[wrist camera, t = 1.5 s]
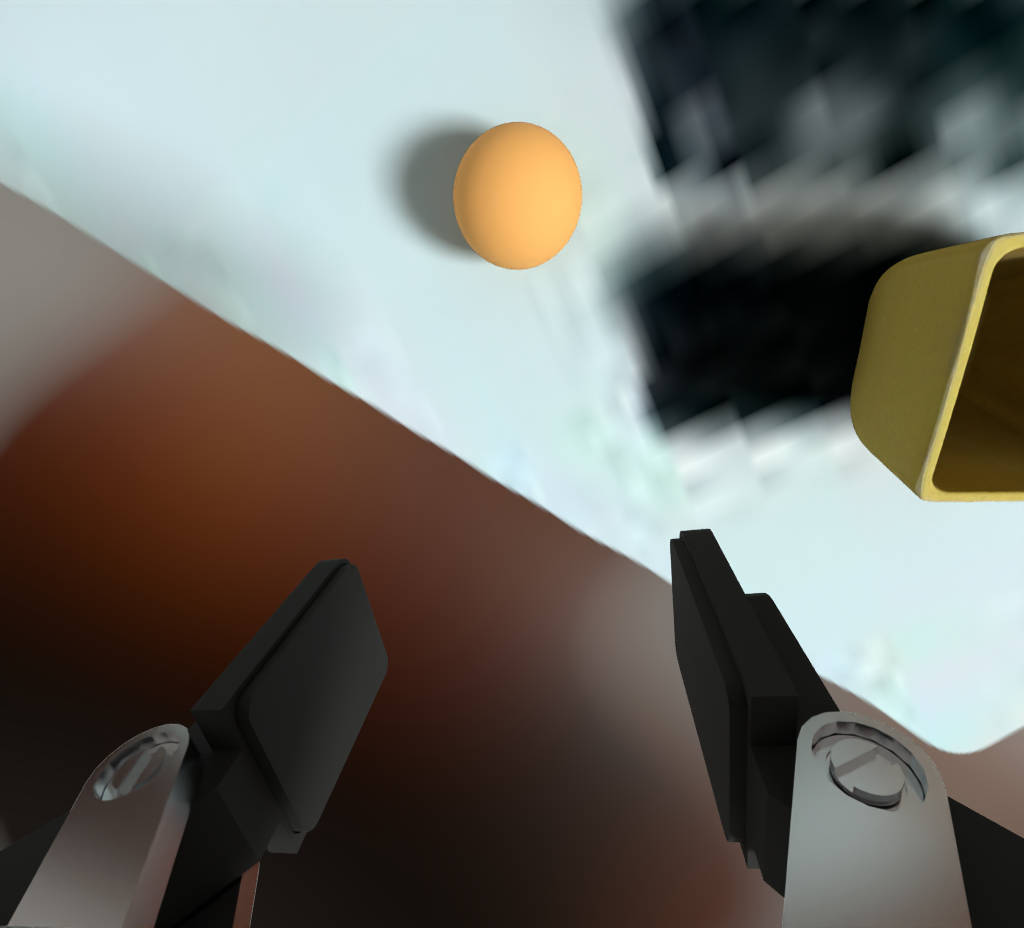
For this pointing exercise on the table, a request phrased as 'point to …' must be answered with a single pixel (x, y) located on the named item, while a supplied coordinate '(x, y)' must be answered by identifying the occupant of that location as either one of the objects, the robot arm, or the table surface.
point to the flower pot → (947, 372)
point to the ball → (517, 195)
